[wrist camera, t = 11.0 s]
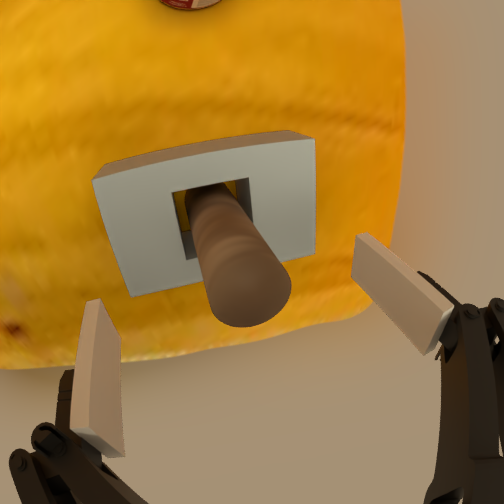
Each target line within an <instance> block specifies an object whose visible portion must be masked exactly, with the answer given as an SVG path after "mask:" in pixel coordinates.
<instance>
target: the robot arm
mask: <svg viewBox="0 0 504 504" xmlns="http://www.w3.org/2000/svg"><path fill="white" fill-rule="evenodd" d="M351 277H352V278H353V280H354V281H355V282H356V283H357V284H358V285H359V286H360V287H361V288H362V289H363V290H364V291H365V292H366V293H367V294H368V295H369V296H370V297H371V298H372V299H373V301H374V302H375V303H376V304H377V305H378V306H379V307H380V308H381V309H382V310H383V311H384V312H385V313H386V315H387V316H388V317H389V318H390V319H391V320H392V321H393V322H394V323H395V324H396V325H397V327H398V328H399V329H400V330H401V331H402V332H403V333H404V334H405V335H406V337H407V338H408V339H409V340H410V341H411V342H412V343H413V345H414V346H415V347H416V348H417V349H418V350H419V351H420V353H421V354H422V355H426V354H427V353H429V352H430V351H432V350H434V349H435V347H436V345H437V343H438V341H440V342H441V343H442V345H441V347H440V349H439V351H438V353H437V355H436V357H435V360H437V359H438V357H439V356H440V354H441V359H440V361H441V416H440V431H439V443H438V452H437V460H436V468H435V474H434V479H433V481H432V483H431V484H430V486H429V487H428V490H427V492H426V495H425V499H424V504H458V502H459V501H460V499H462V498H463V502H462V504H504V300H502V299H500V298H493V299H492V300H491V301H490V303H489V305H488V307H485V308H480V309H479V308H478V307H476V306H475V305H472V304H463V305H462V304H460V303H459V302H458V301H457V300H456V299H455V298H454V297H453V296H451V295H450V294H449V293H448V292H447V291H446V290H445V289H443V288H441V286H440V285H439V284H438V283H435V281H434V280H433V279H432V278H430V277H429V276H428V275H426V274H424V273H422V272H420V271H418V272H416V271H415V270H413V269H412V268H411V267H410V266H408V265H407V264H406V263H405V262H404V261H403V260H401V259H400V258H399V257H398V256H396V255H395V254H394V253H393V252H391V251H390V250H389V249H388V248H386V247H385V246H384V245H383V244H381V243H380V242H379V241H378V240H376V239H375V238H374V237H372V236H371V235H370V234H369V233H367V232H366V233H363V234H359V235H356V239H355V248H354V257H353V265H352V273H351ZM497 336H498V338H499V340H500V341H499V342H498V344H496V343H495V341H494V340H495V339H496V337H497ZM120 365H121V338H120V336H119V334H118V332H117V330H116V328H115V326H114V325H113V323H112V321H111V319H110V317H109V315H108V313H107V311H106V309H105V307H104V305H103V303H102V301H101V299H100V298H99V299H95V300H91V301H87V302H86V306H85V311H84V315H83V321H82V326H81V331H80V337H79V343H78V349H77V356H76V363H75V369H72V370H65V372H64V374H63V376H62V378H61V379H60V384H59V394H58V402H57V410H56V420H55V425H53V424H52V423H48V422H45V423H41V424H39V425H38V426H36V428H35V429H34V431H33V433H32V436H31V444H32V446H33V449H34V450H36V451H35V452H33V453H28V452H27V451H26V450H24V449H16V450H15V451H13V452H12V454H11V456H10V459H9V467H10V471H11V475H12V478H13V481H14V484H15V486H16V489H17V492H18V494H19V497H20V500H21V502H22V504H148V503H147V502H146V501H145V500H143V499H142V498H141V497H140V496H139V495H137V494H136V493H135V492H134V491H133V490H132V489H131V488H130V487H129V486H127V485H126V484H125V483H124V482H123V481H122V480H121V479H120V478H119V477H118V476H117V475H116V474H115V473H114V472H113V471H112V470H111V469H110V468H109V467H108V466H107V465H106V464H105V463H103V462H102V456H101V453H102V454H103V455H105V456H106V457H108V458H116V457H125V450H124V439H123V427H122V410H121V375H120V374H121V373H120V371H121V368H120ZM499 437H500V442H501V447H502V452H503V457H502V456H500V455H499ZM81 502H82V503H81Z"/></svg>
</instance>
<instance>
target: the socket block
mask: <svg viewBox="0 0 504 504" xmlns="http://www.w3.org/2000/svg"><path fill="white" fill-rule="evenodd" d="M231 180H235V183H236V192H237V200H238V203H239V205H240V206H241V207H242V209H243V210H244V212H245V213H246V214H247V216H248V217H249V219H250V220H251V221H252V223H253V224H254V226H255V227H256V229H257V230H258V231H259V233H260V234H261V236H262V237H263V238H264V240H265V241H266V243H267V244H268V246H269V247H270V248H271V250H272V251H273V253H274V254H275V256H276V257H277V259H278V260H279V261H280V262H284V261H288V260H292V259H296V258H300V257H304V256H308V255H312V254H315V232H316V166H315V139H314V138H311V137H308V136H305V135H302V134H299V133H295V132H292V131H289V130H286V131H276V132H267V133H258V134H250V135H243V136H236V137H229V138H223V139H216V140H210V141H205V142H199V143H194V144H188V145H183V146H178V147H173V148H169V149H164V150H159V151H155V152H151V153H146V154H142V155H138V156H134V157H130V158H126V159H122V160H119V161H115V162H111V163H108V164H105V165H104V166H103V167H102V168H101V169H100V171H99V172H98V173H97V174H96V175H95V177H94V178H93V179H92V184H93V188H94V192H95V195H96V199H97V202H98V206H99V209H100V212H101V216H102V219H103V222H104V225H105V228H106V231H107V234H108V237H109V240H110V243H111V246H112V249H113V252H114V255H115V257H116V260H117V263H118V266H119V268H120V271H121V274H122V276H123V279H124V281H125V284H126V286H127V289H128V291H129V294H130V296H131V297H136V296H140V295H144V294H149V293H153V292H158V291H162V290H167V289H171V288H175V287H180V286H184V285H188V284H193V283H197V282H201V281H203V277H202V273H201V269H200V265H199V261H198V257H197V253H196V249H195V245H194V241H193V236H192V232H191V230H189V231H185V232H181V227H180V223H179V218H178V214H177V209H176V204H175V199H174V194H173V192H176V191H181V190H185V189H190V188H195V187H200V186H205V185H210V184H215V183H220V182H225V181H231Z"/></svg>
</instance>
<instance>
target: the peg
mask: <svg viewBox="0 0 504 504" xmlns="http://www.w3.org/2000/svg"><path fill="white" fill-rule="evenodd" d="M185 206H186V210H187V215H188V219H189V224H190V228H191V232H192V236H193V241H194V245H195V249H196V253H197V257H198V261H199V265H200V269H201V273H202V277H203V281H204V285H205V288H206V292H207V296H208V300H209V303H210V307H211V310H212V312H213V314H214V315H215V317H216V318H217V319H218V320H220V321H221V322H223V323H224V324H227V325H229V326H233V327H251V326H256V325H259V324H261V323H264V322H266V321H268V320H269V319H271V318H272V317H274V316H275V315H276V314H278V313H279V312H280V311H281V309H282V308H283V307H284V306H285V304H286V303H287V301H288V299H289V296H290V293H291V280H290V277H289V275H288V273H287V271H286V270H285V269H284V267H283V266H282V264H281V263H280V261H279V260H278V259H277V257H276V256H275V254H274V253H273V251H272V250H271V248H270V247H269V246H268V244H267V243H266V241H265V240H264V238H263V237H262V236H261V234H260V233H259V231H258V230H257V229H256V227H255V226H254V224H253V223H252V221H251V220H250V219H249V217H248V216H247V214H246V213H245V212H244V210H243V209H242V207H241V206H240V205H239V203H238V202H237V200H236V199H235V198H234V196H233V195H232V193H231V192H230V191H229V189H228V188H227V186H226V185H225V184H224V183H223V182H220V183H215V184H210V185H205V186H200V187H195V188H190V189H187V191H186V193H185Z"/></svg>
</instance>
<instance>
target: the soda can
mask: <svg viewBox="0 0 504 504" xmlns="http://www.w3.org/2000/svg"><path fill="white" fill-rule="evenodd" d="M160 1H162V2H163V3H165V4H167V5H169V6H172V7H175V8H179V9H200V8H205V7H208V6H211V5H213V4H216V3H217V2H219V1H221V0H160Z"/></svg>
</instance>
